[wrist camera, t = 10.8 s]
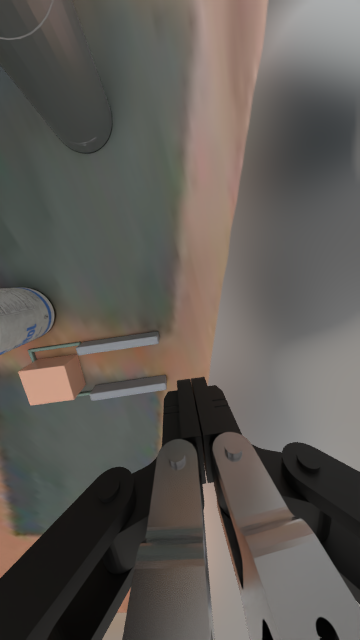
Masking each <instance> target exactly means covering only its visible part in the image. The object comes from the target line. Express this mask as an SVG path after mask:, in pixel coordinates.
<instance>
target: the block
mask: <svg viewBox="0 0 360 640" xmlns="http://www.w3.org/2000/svg"><path fill="white" fill-rule="evenodd" d="M18 373H19V376H20V378H21V381H22V384H23V386H24V389H25V392H26V394H27V397H28V400H29V403H30V405H37V404H45V403H52V402H60V401H67V400H74V399H75V398H76V397H77V395H78V394H79V393H80V391H81V390H82V389H83V387H84V386H85V385H86V383H85V380H84V376H83V373H82V369H81V365H80V362H79V358H78V354H75V355H67V356H59V357H52V358H44V359H37V360H36V361H34V362H32V363H31V364H29V365H28V366H26V367H25V368H23V369H21V370H20V371H18Z"/></svg>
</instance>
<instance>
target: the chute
mask: <svg viewBox="0 0 360 640" xmlns="http://www.w3.org/2000/svg"><path fill="white" fill-rule="evenodd" d="M158 343H159V333H158V331H157V332H150V333H143V334H136V335H129V336H122V337H115V338H108V339H101V340H94V341H87V342H83V343H82V344H80V345H79V346H78V347H76V350H77V353H78V355H84V354H91V353H98V352H105V351H112V350H119V349H125V348H132V347H139V346H146V345H153V344H158ZM166 386H167V380H166V375H161V376H155V377H148V378H141V379H135V380H128V381H121V382H114V383H108V384H101V385H96V386H95V387H94V389H93V390H92V392H91V393H90V397H91V401H94V400H100V399H107V398H113V397H120V396H127V395H133V394H140V393H147V392H153V391H160V390H166Z"/></svg>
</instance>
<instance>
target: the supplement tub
mask: <svg viewBox="0 0 360 640" xmlns="http://www.w3.org/2000/svg"><path fill="white" fill-rule="evenodd" d="M53 322H54V309H53V307H52V305H51V303H50V301H49V300H48V299H47V298H46V297H45V296H44V295H43V294H41V293H40V292H38V291H36V290H33V289H30V288H24V287H19V288H2V289H0V355H1V354H4V353H6V352H8V351H10V350H12V349H14V348H17V347H19V346H21V345H23V344H25V343H28V342H30V341H32V340H34V339H36V338H38V337H40V336H43V335H44V334H46V333H47V332H48V331H49V330H50V329H51V327H52V325H53Z"/></svg>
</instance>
